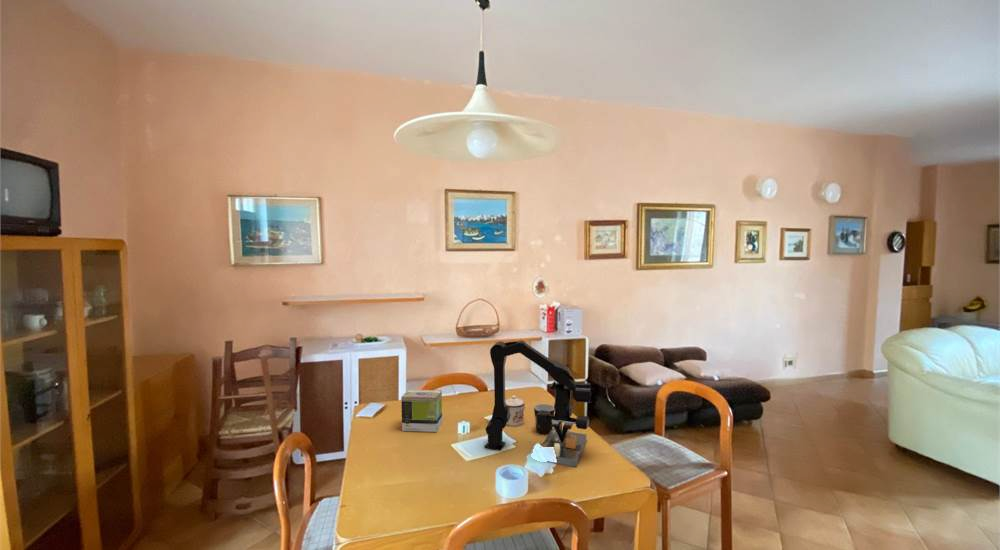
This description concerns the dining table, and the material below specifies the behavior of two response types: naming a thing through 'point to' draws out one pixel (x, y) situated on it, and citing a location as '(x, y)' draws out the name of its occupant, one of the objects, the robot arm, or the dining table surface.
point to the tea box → (422, 410)
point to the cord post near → (557, 449)
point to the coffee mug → (546, 427)
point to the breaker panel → (566, 454)
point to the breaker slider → (571, 441)
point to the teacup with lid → (515, 411)
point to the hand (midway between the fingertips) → (562, 441)
